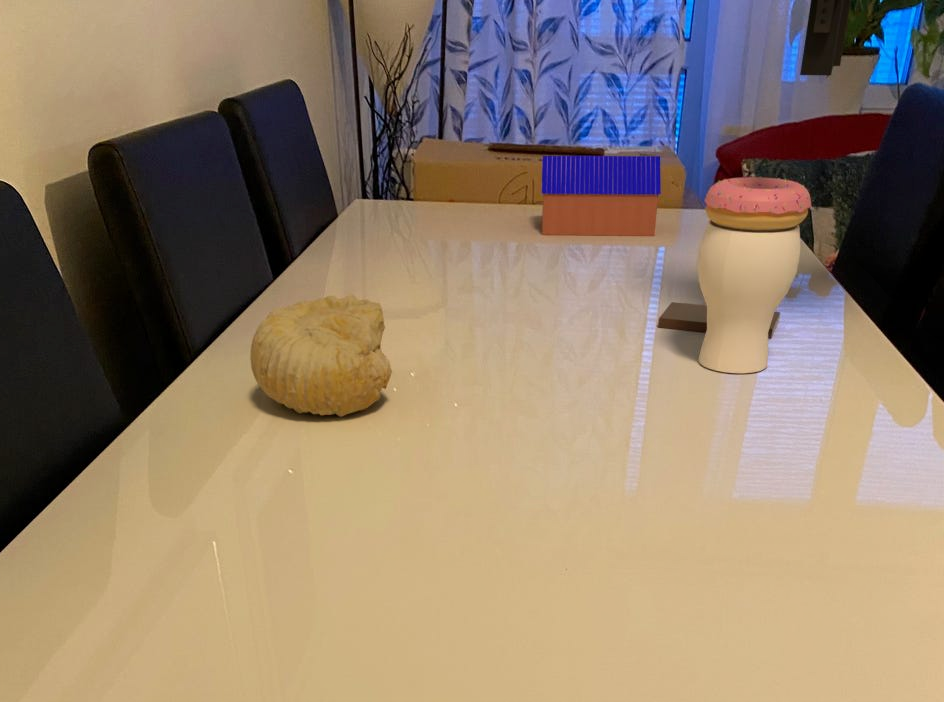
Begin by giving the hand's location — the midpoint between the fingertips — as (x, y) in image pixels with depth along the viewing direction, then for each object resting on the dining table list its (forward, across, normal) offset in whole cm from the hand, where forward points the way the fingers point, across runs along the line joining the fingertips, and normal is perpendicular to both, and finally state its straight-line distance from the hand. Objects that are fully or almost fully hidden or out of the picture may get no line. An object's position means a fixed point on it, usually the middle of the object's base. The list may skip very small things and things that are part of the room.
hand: (821, 70), depth 96 cm
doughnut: (+14, 0, -4) cm, 15 cm away
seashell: (+29, +26, -43) cm, 58 cm away
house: (+29, -67, -38) cm, 82 cm away
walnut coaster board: (+29, -15, -8) cm, 34 cm away
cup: (+29, 0, -5) cm, 30 cm away
